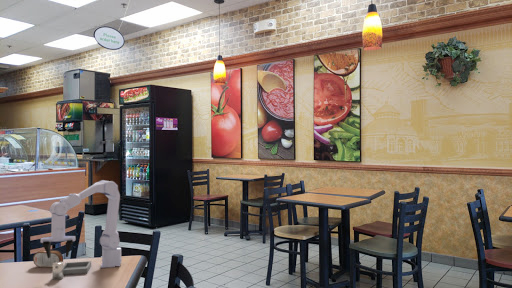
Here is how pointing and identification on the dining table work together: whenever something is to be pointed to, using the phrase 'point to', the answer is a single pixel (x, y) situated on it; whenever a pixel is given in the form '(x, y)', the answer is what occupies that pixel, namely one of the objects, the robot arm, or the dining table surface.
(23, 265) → the dining table surface
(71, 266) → the parts tray
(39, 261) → the tin
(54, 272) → the handled mug
